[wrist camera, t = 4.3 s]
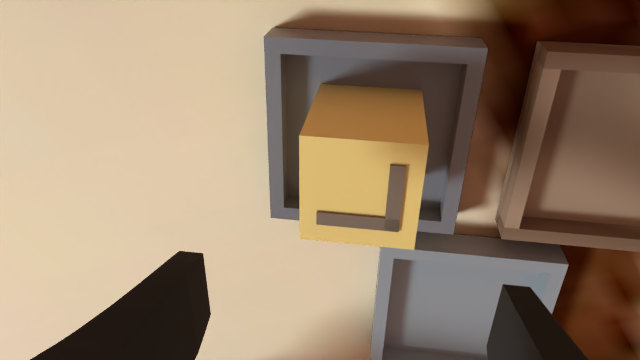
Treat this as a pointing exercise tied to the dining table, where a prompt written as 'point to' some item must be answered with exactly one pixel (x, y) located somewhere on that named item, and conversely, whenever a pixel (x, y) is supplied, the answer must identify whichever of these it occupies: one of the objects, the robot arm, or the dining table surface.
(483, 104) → the dining table surface
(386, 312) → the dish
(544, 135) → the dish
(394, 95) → the letter cube
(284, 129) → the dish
